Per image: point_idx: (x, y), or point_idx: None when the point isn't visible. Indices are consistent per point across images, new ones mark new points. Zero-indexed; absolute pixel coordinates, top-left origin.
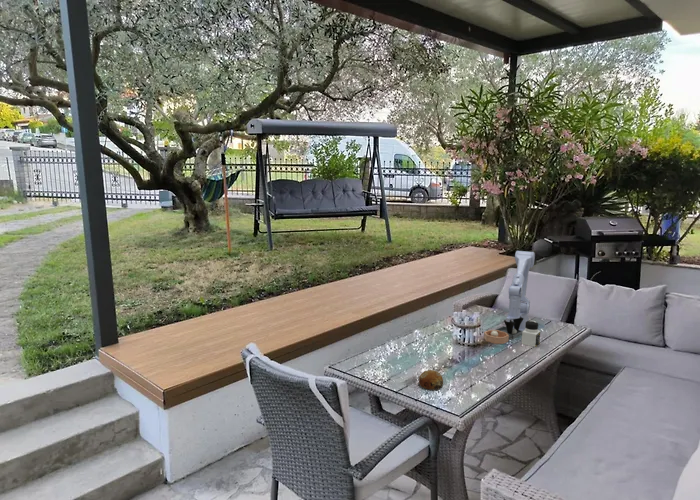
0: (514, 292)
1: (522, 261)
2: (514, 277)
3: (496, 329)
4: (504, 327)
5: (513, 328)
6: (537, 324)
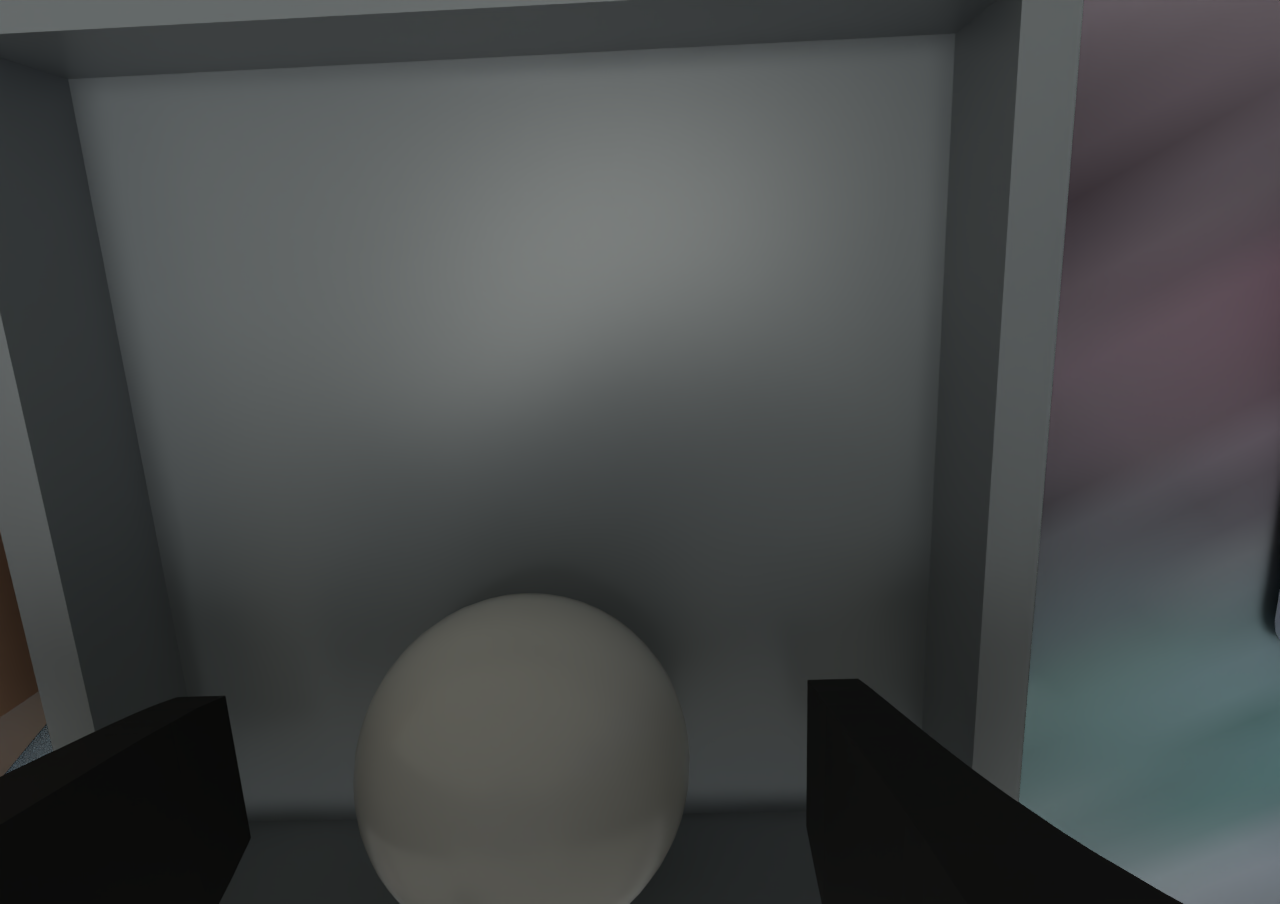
0: None
1: None
2: None
3: (239, 14)
4: (994, 53)
5: (489, 896)
6: None
